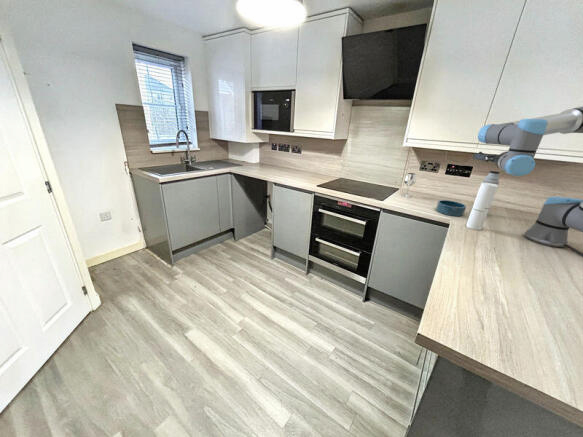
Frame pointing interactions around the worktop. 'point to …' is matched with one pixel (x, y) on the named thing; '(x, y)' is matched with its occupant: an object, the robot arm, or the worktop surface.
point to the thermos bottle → (492, 178)
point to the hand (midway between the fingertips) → (496, 156)
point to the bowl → (451, 208)
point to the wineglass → (409, 181)
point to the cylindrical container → (481, 205)
